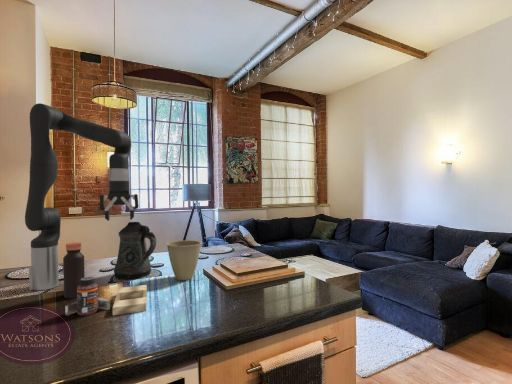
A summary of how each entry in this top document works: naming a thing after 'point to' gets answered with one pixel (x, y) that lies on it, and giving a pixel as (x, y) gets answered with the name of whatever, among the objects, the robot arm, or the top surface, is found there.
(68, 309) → the aluminium v block
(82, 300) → the supplement bottle
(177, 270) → the plant pot
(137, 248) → the beer stein
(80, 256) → the vinegar
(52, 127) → the robot arm
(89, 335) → the top surface
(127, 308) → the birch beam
